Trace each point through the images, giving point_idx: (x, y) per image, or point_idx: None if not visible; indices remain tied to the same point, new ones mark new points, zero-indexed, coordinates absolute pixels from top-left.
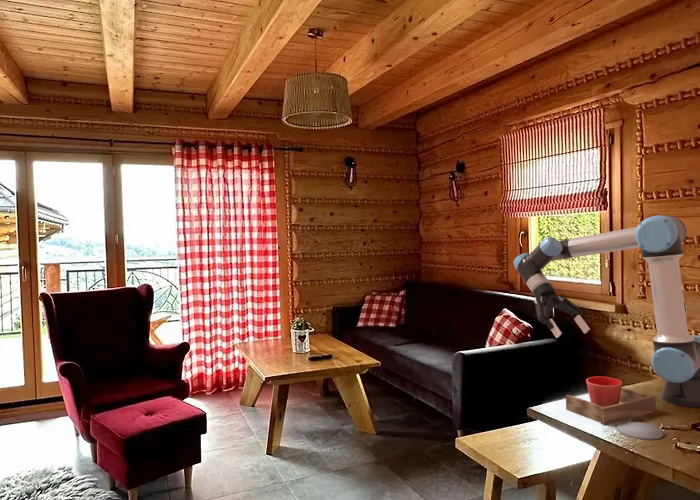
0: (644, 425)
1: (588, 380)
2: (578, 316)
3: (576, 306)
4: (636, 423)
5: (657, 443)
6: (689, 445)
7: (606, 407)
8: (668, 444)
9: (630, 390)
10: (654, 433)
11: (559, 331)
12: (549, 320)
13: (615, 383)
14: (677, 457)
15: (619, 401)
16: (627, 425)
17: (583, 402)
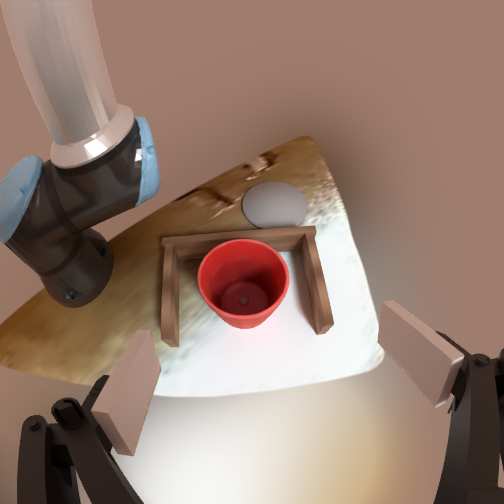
0: (255, 210)
1: (267, 308)
2: (114, 408)
3: (21, 473)
4: (259, 220)
5: (284, 176)
6: (252, 162)
7: (303, 229)
8: (274, 170)
9: (167, 285)
10: (267, 188)
11: (396, 306)
12: (457, 363)
13: (204, 280)
14: (294, 151)
15: (178, 324)
16: (280, 220)
17: (322, 274)
